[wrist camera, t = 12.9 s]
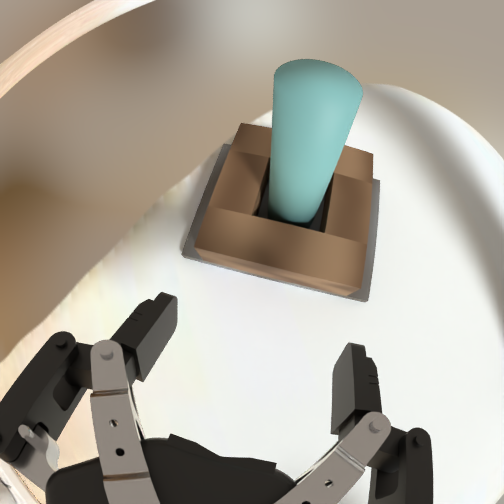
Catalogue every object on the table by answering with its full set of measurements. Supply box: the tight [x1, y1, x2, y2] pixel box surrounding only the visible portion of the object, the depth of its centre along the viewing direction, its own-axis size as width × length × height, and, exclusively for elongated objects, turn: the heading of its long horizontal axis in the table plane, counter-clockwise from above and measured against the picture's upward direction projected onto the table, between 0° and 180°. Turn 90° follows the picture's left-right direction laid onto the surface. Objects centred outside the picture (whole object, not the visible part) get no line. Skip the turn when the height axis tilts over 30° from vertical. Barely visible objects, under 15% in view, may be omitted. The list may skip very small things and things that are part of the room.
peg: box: [268, 59, 363, 229], centre depth 17 cm, size 4×4×14 cm
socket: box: [182, 123, 380, 302], centre depth 22 cm, size 16×12×4 cm
